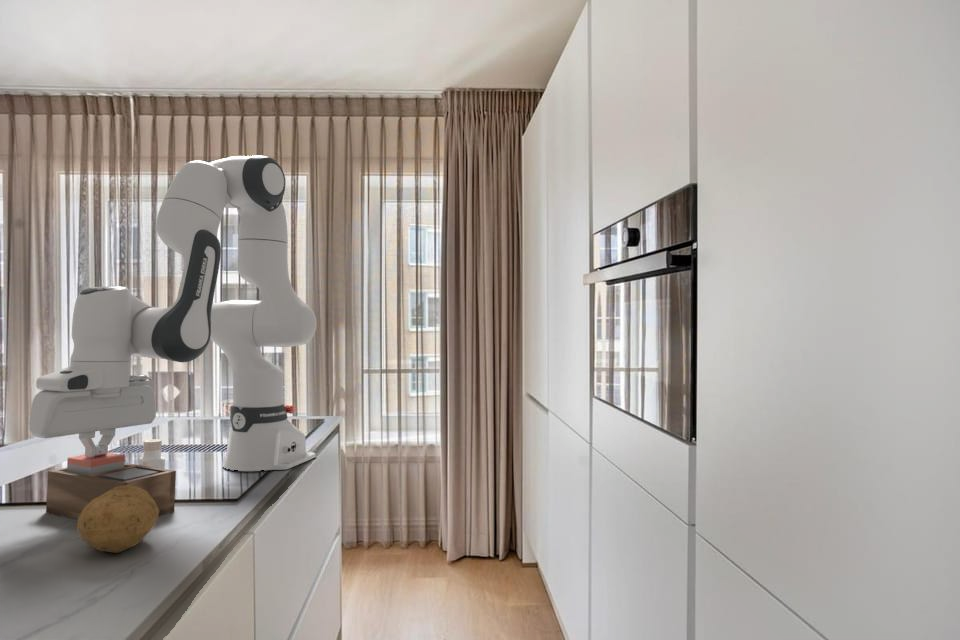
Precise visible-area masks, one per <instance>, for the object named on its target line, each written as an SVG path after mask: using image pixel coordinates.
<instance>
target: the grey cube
mask: <svg viewBox="0 0 960 640" xmlns="http://www.w3.org/2000/svg"><path fill="white" fill-rule="evenodd" d="M157 473H158V472H156V471H150V470H144V469H138V468H132V469H127V470H122V471H118V472H113V473H109V474H104V475H100V478H105V479H110V480H116V481H122V482H123V481H128V480H132V479H136V478H140V477H145V476H149V475H153V474H157Z"/></svg>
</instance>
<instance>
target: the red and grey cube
mask: <svg viewBox="0 0 960 640" xmlns="http://www.w3.org/2000/svg"><path fill="white" fill-rule="evenodd" d="M125 456H126V455H125V454H121V453H114V452H108V454H107V455H104V456H99V457H93V458H87V457H85V454H81V455H76V456H72V457H67V464H66V467H67V472H70V473H76V474H82V475H92V474H97V473H101V472H106V471H111V470H116V469H120V468H124V463H126V462H125V460H126V459H125Z"/></svg>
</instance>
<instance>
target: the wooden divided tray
mask: <svg viewBox="0 0 960 640" xmlns="http://www.w3.org/2000/svg"><path fill="white" fill-rule="evenodd" d="M132 468H138V469H144V470H150V471H156V472H158V473H157V474H153V475H149V476H145V477H140V478H136V479H132V480H128V481H123V482H122V481H116V480H110V479H105V478H100V475H104V474H109V473H113V472H118V471H122V470H127V469H132ZM176 476H177V470H174V469H173V470H172V469H167V468H165V469H162V468H155V467H149V466H142V465H139V464H135V463H128V462H125V463H124V468H120V469H116V470H111V471H106V472H101V473H97V474H92V475H82V474H76V473H70V472H67V466H66V467H61V468H56V469H51V470H47V482H46V483H47V484H46V487H47V488H46V508H45V513H48V514H51V515H56V516H61V517H66V518H70V519H74V520H78V517H79V516H80V514H81V512H82V511H83V509H84V508H85V506H86V505H87V504H88V503H90V502H91V501H92V500H93V499H95V498H97V497H99V496H101V495H102V494H104V493H106V492H107V491H109V490H111V489H113V488H114V487H118V486H124V485H131V486H135V487H140V488H142V489H144V490H145V491H147V492H148V493H149V495H150V496H151V497H152V499H153V500H154V501H155V503H156V505H157V507H158V509H159V514H158V517H159V516H164V515H167V514H169V513H172V512H175V501H176V500H175V499H176V481H177V480H176Z"/></svg>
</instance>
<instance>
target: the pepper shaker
mask: <svg viewBox="0 0 960 640" xmlns="http://www.w3.org/2000/svg"><path fill="white" fill-rule="evenodd" d="M162 441H163V439H157V438H155V439H154V438H153V439H146V440H143V443H142V445H143V446H142V451H143V453H142V454H143V456H141V457H138V465H142V466H149V467H155V468H162V469H166V467H165V466H166V457H164V455H162V443H163V442H162Z"/></svg>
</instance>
